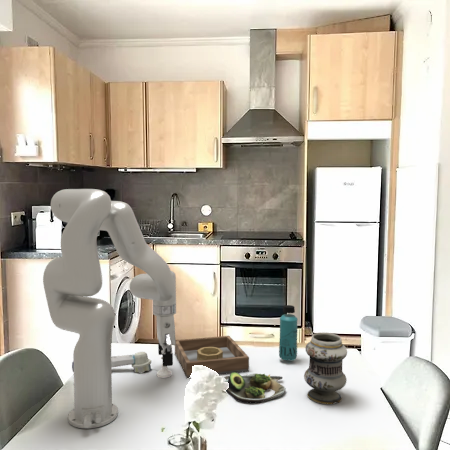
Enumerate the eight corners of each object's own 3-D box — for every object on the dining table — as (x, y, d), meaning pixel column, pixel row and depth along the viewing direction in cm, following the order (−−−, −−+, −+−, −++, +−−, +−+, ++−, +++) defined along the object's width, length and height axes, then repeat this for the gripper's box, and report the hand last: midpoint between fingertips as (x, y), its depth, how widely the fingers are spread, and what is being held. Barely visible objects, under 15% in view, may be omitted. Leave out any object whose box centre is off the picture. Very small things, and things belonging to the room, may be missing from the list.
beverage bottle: (277, 363, 152) (278, 307, 151) (280, 356, 159) (281, 303, 157) (295, 365, 150) (296, 309, 149) (298, 359, 157) (299, 304, 155)
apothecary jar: (325, 410, 119) (326, 346, 118) (295, 393, 129) (296, 334, 128) (354, 399, 126) (356, 338, 124) (324, 384, 136) (325, 327, 134)
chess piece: (164, 370, 146) (164, 341, 145) (175, 374, 143) (175, 344, 142) (153, 375, 142) (153, 345, 141) (163, 379, 139) (163, 348, 138)
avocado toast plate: (268, 373, 145) (268, 359, 145) (300, 395, 129) (300, 380, 129) (216, 383, 136) (216, 369, 136) (243, 409, 120) (243, 393, 120)
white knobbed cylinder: (75, 357, 147) (150, 346, 148) (78, 376, 147) (152, 365, 148) (70, 363, 141) (148, 352, 143) (73, 383, 142) (151, 371, 143)
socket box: (248, 371, 145) (248, 357, 145) (186, 378, 139) (186, 363, 139) (228, 348, 167) (229, 335, 167) (174, 353, 161) (174, 340, 161)
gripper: (180, 315, 134) (181, 369, 135) (171, 301, 150) (172, 349, 152) (156, 317, 132) (157, 372, 133) (149, 302, 148) (150, 351, 150)
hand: (165, 359), depth 142 cm, fingers open, 9 cm apart
